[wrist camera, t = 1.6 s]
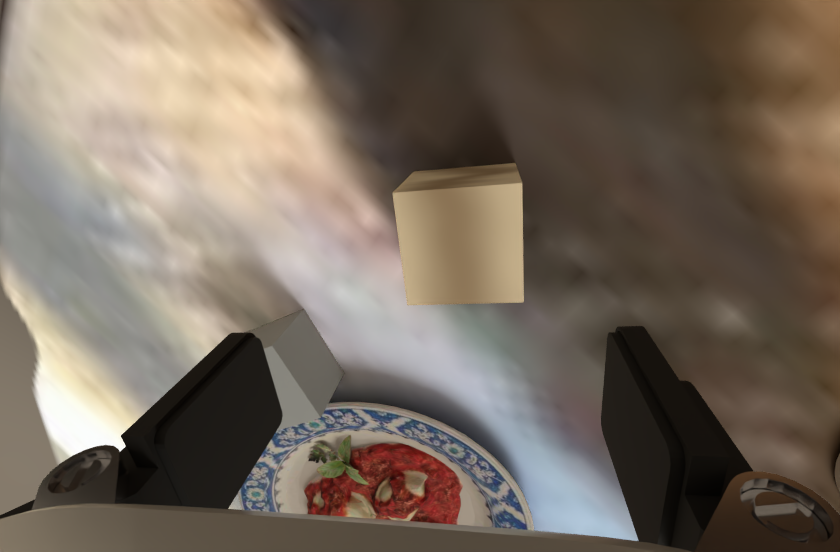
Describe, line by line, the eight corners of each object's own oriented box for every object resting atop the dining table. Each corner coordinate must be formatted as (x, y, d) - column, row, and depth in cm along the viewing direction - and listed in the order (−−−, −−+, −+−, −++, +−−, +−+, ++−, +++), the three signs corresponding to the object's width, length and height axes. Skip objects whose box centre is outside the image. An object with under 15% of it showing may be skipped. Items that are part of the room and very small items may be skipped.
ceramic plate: (554, 593, 39) (558, 630, 36) (309, 593, 45) (298, 624, 43) (497, 364, 30) (498, 391, 27) (203, 404, 36) (180, 429, 34)
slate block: (304, 308, 30) (271, 345, 26) (344, 372, 32) (320, 417, 28) (242, 333, 32) (202, 372, 28) (284, 392, 34) (252, 438, 30)
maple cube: (515, 162, 24) (522, 182, 19) (517, 259, 26) (523, 302, 21) (413, 171, 25) (392, 192, 20) (424, 263, 28) (407, 305, 22)
